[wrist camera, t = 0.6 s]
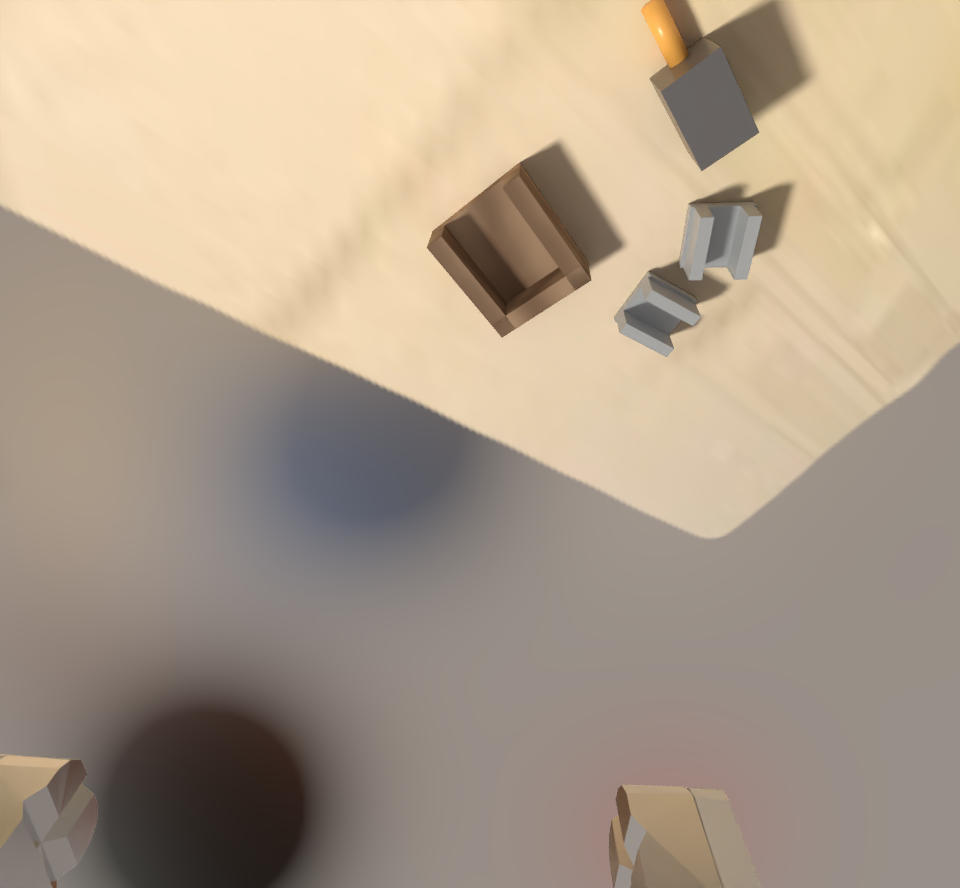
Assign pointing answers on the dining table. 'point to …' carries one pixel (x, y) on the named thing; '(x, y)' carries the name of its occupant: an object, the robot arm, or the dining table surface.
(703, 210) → the clip
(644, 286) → the clip
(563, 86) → the dining table surface
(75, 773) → the robot arm
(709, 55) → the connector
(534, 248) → the holder
